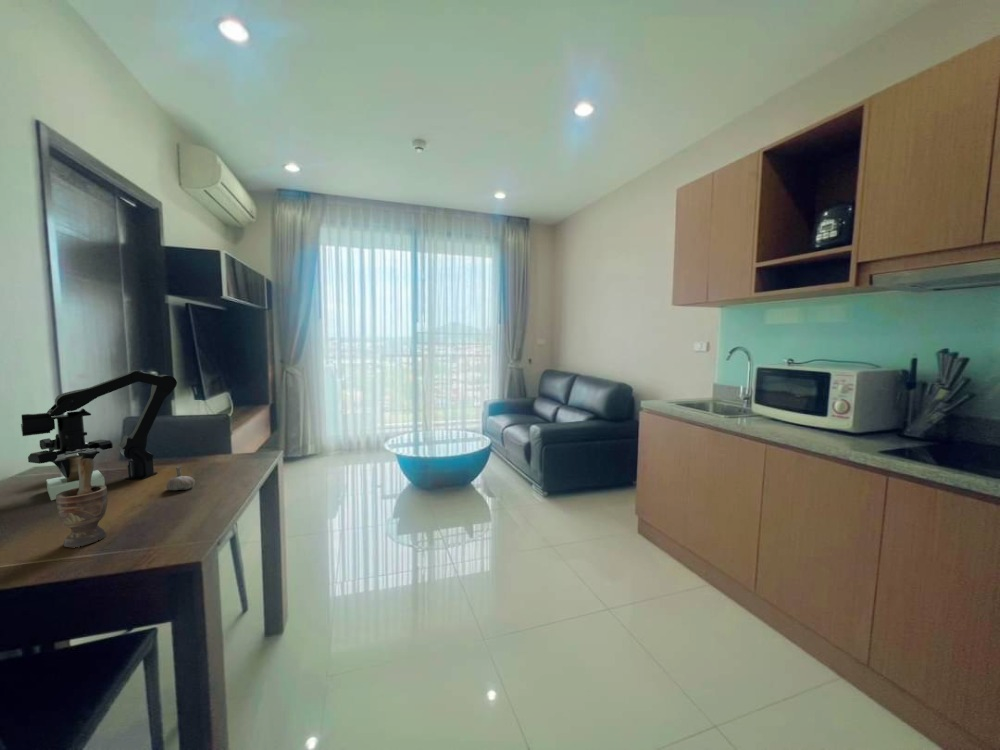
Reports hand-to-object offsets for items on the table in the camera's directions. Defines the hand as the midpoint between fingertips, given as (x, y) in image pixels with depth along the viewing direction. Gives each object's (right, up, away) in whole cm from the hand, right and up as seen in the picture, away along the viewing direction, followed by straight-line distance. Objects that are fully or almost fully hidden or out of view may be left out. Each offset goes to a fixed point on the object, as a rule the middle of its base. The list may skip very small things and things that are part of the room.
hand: (75, 475), depth 128 cm
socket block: (0, -5, 0) cm, 5 cm away
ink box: (-14, -4, +13) cm, 20 cm away
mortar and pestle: (+37, -8, -30) cm, 48 cm away
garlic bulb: (+34, -6, +2) cm, 34 cm away
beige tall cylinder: (0, -3, 0) cm, 2 cm away
